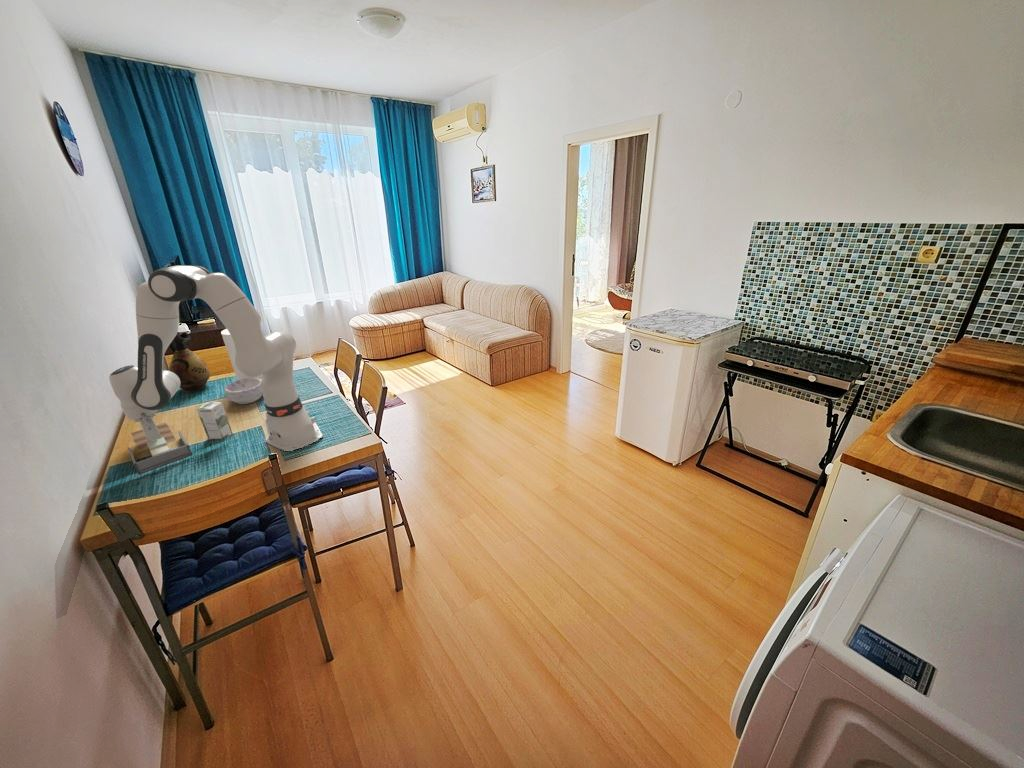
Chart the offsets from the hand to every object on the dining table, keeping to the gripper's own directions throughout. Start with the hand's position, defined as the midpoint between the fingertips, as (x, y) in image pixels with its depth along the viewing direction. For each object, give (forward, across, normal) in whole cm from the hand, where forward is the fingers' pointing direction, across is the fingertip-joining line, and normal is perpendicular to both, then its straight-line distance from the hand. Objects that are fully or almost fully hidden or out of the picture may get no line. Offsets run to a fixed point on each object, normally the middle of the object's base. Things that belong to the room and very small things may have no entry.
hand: (156, 442), depth 151 cm
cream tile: (+2, -9, 0) cm, 9 cm away
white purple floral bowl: (+3, +18, -36) cm, 40 cm away
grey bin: (+2, -9, 0) cm, 9 cm away
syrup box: (+3, -11, -18) cm, 21 cm away
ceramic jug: (+3, +54, -22) cm, 59 cm away
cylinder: (+3, +36, -46) cm, 59 cm away
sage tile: (+1, -4, 0) cm, 4 cm away
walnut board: (+2, +8, 0) cm, 9 cm away
